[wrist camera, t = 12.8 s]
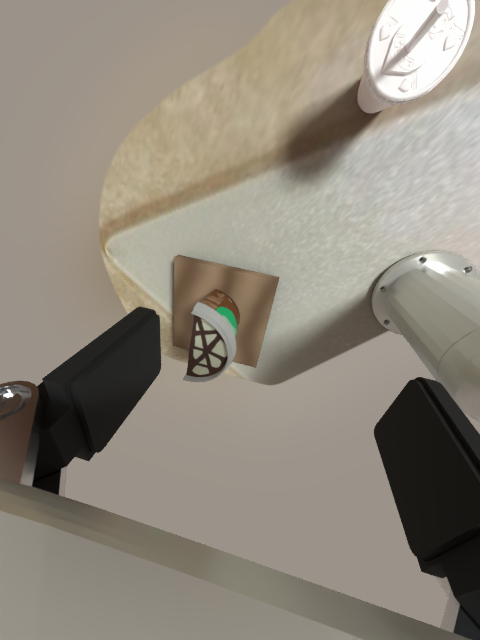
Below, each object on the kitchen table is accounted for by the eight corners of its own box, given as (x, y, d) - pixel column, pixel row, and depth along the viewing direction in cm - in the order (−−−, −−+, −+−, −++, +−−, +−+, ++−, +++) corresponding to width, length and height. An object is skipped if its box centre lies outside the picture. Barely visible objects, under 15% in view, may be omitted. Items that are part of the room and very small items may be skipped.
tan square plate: (279, 274, 36) (278, 280, 33) (258, 357, 45) (256, 367, 42) (182, 252, 37) (174, 257, 35) (180, 337, 46) (173, 345, 44)
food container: (238, 352, 41) (223, 395, 33) (205, 342, 42) (182, 382, 33) (255, 291, 35) (242, 324, 26) (216, 279, 35) (191, 309, 27)
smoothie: (332, 86, 25) (366, -10, 13) (397, 25, 22) (519, -172, 10) (359, 144, 26) (411, 107, 15) (422, 94, 24) (551, -2, 12)
